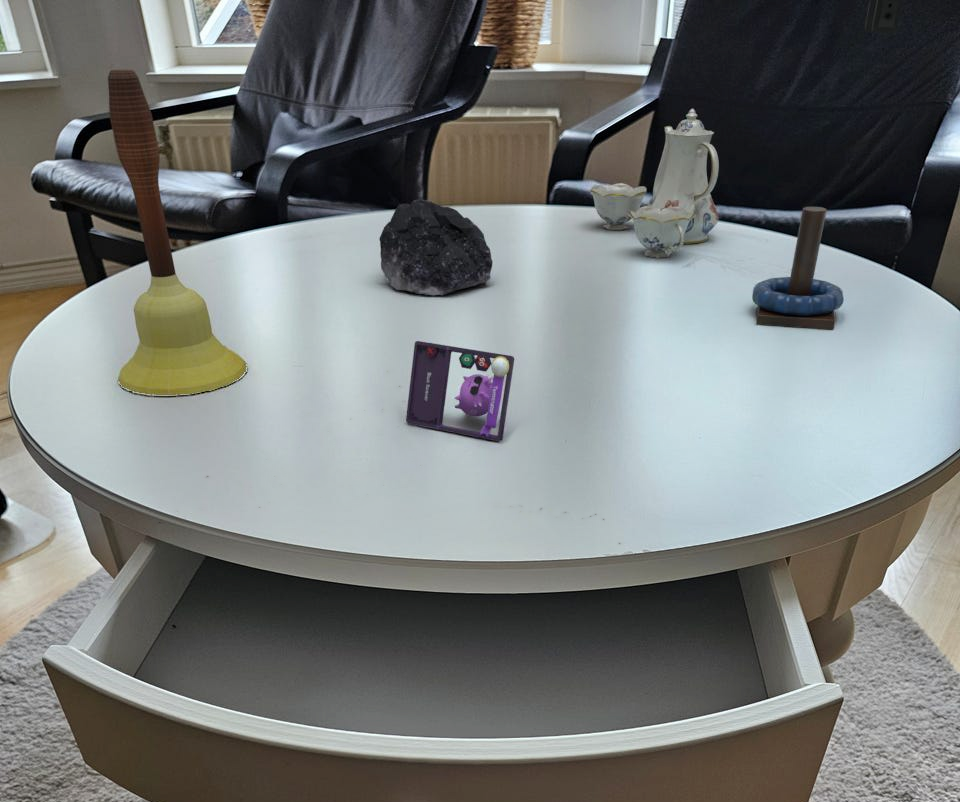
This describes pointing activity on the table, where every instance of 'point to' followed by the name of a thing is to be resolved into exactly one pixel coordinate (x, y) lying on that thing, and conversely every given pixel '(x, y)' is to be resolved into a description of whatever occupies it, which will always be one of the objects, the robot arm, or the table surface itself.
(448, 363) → the game card
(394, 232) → the dark grey rock
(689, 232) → the chinaware
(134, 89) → the handbell
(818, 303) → the ring
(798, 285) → the post
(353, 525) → the table surface
